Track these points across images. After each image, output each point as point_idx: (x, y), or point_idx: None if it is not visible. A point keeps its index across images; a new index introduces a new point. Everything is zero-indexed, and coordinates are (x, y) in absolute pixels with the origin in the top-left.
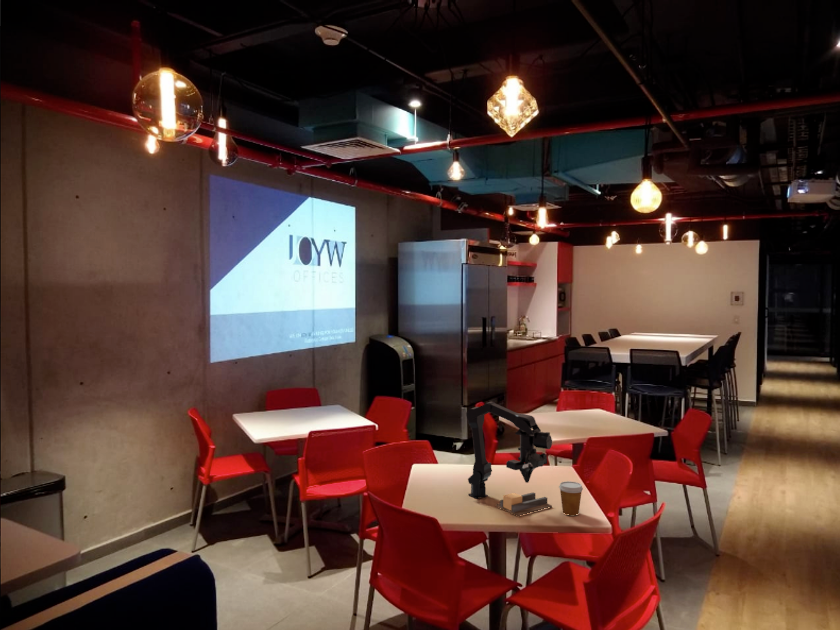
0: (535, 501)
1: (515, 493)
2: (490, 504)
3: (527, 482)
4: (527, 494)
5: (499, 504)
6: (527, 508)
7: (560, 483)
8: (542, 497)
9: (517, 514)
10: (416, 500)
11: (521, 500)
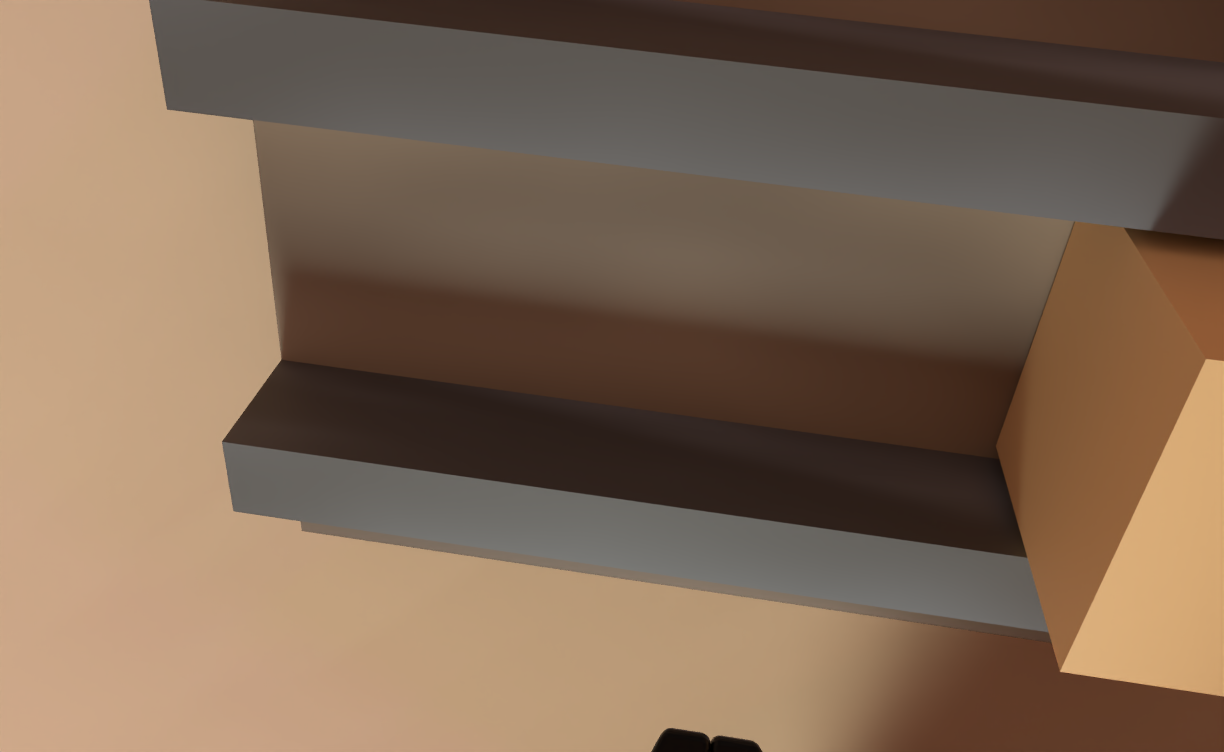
0: (701, 48)
1: (1090, 621)
2: (1172, 741)
3: (738, 742)
4: (463, 511)
5: None
6: (1038, 44)
7: None
8: (272, 115)
9: None
10: None
11: (1190, 284)
